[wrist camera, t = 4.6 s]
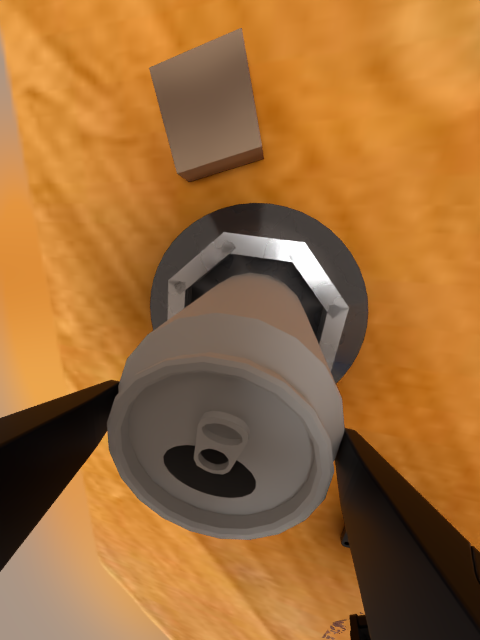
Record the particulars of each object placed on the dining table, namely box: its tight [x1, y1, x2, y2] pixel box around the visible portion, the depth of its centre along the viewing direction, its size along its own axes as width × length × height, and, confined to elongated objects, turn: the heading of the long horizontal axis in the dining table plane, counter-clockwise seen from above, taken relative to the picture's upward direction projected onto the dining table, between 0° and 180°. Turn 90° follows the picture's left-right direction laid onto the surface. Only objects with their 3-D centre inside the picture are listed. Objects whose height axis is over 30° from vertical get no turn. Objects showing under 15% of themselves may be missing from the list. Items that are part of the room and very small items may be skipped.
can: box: [107, 273, 345, 540], centre depth 12 cm, size 8×8×12 cm
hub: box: [150, 203, 368, 384], centre depth 17 cm, size 16×16×2 cm
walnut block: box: [149, 28, 264, 182], centre depth 13 cm, size 5×5×2 cm
